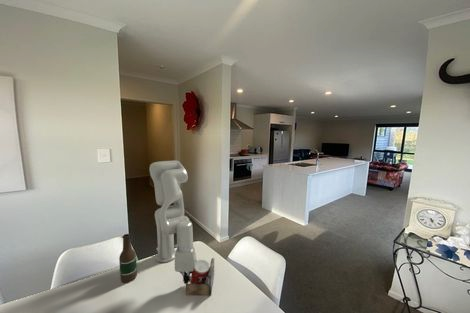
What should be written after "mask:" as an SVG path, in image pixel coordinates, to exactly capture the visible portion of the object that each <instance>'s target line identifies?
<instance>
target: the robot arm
mask: <svg viewBox="0 0 470 313" xmlns="http://www.w3.org/2000/svg"><path fill="white" fill-rule="evenodd" d="M149 173H150V174H149V175H150V177H151V179H152V181H153V184H154V194H155V201H156V202H155V203H156V204H157V205H158V206H161V207H160V208H157V209H156V210H155V212H154V219H155V225H156V233H157V234H156V235H157V247H156V249H155V250H156V251H157V253H156V255H155V260H156V261H157V262H158V263H169V262H172V261H173V260H174V271H175V272H178V273H180V275H181V276H182V279H183V280H182V281H183V282H184V285H186V284H189V282H190V281H191V275H192V272H193V270H194V266H196V261H198V260H197V259H198V258H197V254H196V253H197V252H196V249H195V247H194V235H193V234H194V233H193V229H194V228H193V223H192V221H190V218H189V217H188V216H187V215H185V205H184V204H185V203H184V195H183V192H182V190H181V188H180V184H183V183H186V182H188V179H189V177H188V176H189V175H188V172H187V170H186V168H185V167H184V165H183V164H182V163H181V162H180V161H178V160H163V161H156V162H152V163H151V164H150V165H149ZM172 204H173V205H172ZM175 234H176V244H175V239H174V238H175V236H174V235H175ZM175 248H176V250H175Z"/></svg>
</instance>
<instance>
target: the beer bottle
mask: <svg viewBox="0 0 470 313" xmlns="http://www.w3.org/2000/svg"><path fill="white" fill-rule="evenodd" d="M121 238H122V251H121V253H120V254H119V258H118V259H119V261H118V262H119V273H120V275H119V276H120V280H121V283H122V284H123V283H124V284H127V283H130V282H133V281H134V280H135V279H136V277H137V275H138V268H137V267H138V266H137V264H138V263H137V253H136V252H135V250H134V249H133V248H132V242H131V234H130V233H126V234H123V235H122V237H121Z"/></svg>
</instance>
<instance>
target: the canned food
mask: <svg viewBox="0 0 470 313" xmlns="http://www.w3.org/2000/svg"><path fill="white" fill-rule="evenodd" d="M209 267H210V263H208V261H207V260H204V259H198V260H197V261H196V266H194V270H193V272H192V273H191V275H190V281H189V282H190V283H189V284H207V283H206V282H207V280H208V277H207V275H208V271H209Z"/></svg>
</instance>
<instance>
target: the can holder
mask: <svg viewBox="0 0 470 313" xmlns="http://www.w3.org/2000/svg"><path fill="white" fill-rule="evenodd" d="M207 280H208V281H207V283H205V284H190V283H188V284H185V296H186V297H187V296H191V297H192V296H204V297H205V296H208V297H210V296H212V294H213V285H214V280H215V258H214V257H212V258H211V260H210V263H209V271H208V275H207Z"/></svg>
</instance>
